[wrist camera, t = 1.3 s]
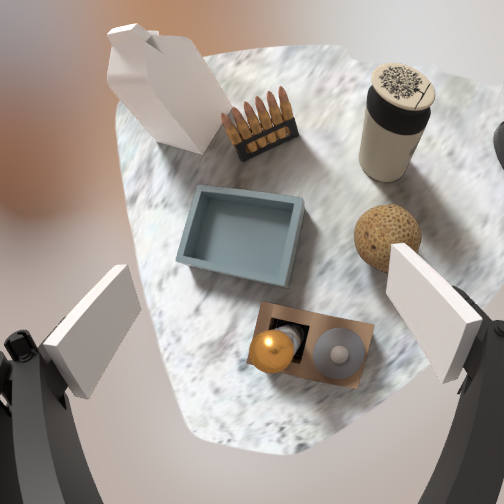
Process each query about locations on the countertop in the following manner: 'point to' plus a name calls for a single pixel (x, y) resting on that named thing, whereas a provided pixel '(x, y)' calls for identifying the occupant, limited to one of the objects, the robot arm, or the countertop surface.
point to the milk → (166, 87)
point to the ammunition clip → (261, 126)
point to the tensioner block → (322, 345)
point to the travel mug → (394, 120)
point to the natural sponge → (385, 234)
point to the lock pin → (275, 348)
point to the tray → (242, 234)
